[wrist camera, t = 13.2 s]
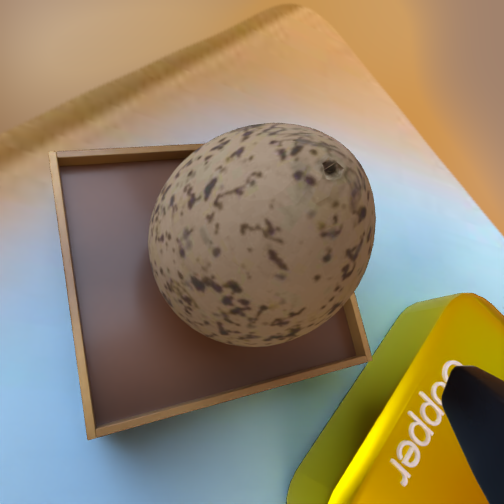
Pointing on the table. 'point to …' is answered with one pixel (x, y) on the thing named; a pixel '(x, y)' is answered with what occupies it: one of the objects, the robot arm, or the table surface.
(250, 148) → the decorative egg
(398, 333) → the element tile
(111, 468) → the table surface
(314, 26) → the table surface
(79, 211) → the shallow square tray
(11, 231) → the table surface
